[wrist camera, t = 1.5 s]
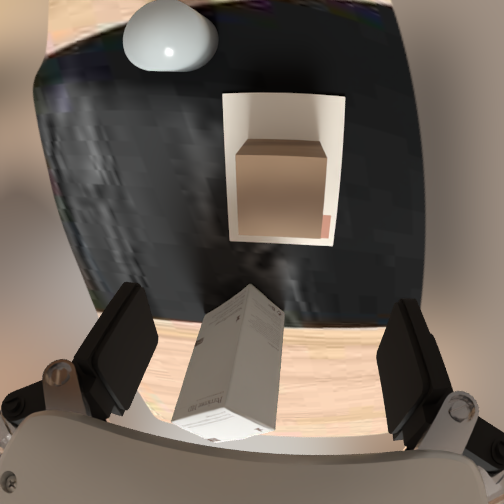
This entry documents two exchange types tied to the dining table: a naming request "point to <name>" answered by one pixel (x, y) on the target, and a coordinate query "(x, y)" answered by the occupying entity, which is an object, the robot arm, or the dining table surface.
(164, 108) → the dining table surface
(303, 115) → the letter
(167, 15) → the grey rounded cylinder
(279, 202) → the walnut block
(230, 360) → the skincare box
